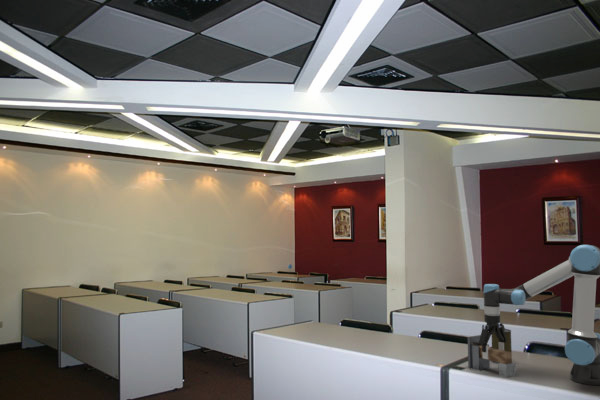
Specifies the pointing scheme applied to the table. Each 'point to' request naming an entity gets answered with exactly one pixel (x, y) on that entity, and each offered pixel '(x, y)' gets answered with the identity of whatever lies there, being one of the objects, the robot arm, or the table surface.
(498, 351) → the rail
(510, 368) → the block
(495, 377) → the table surface
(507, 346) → the canister
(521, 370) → the table surface
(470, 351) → the bracket
